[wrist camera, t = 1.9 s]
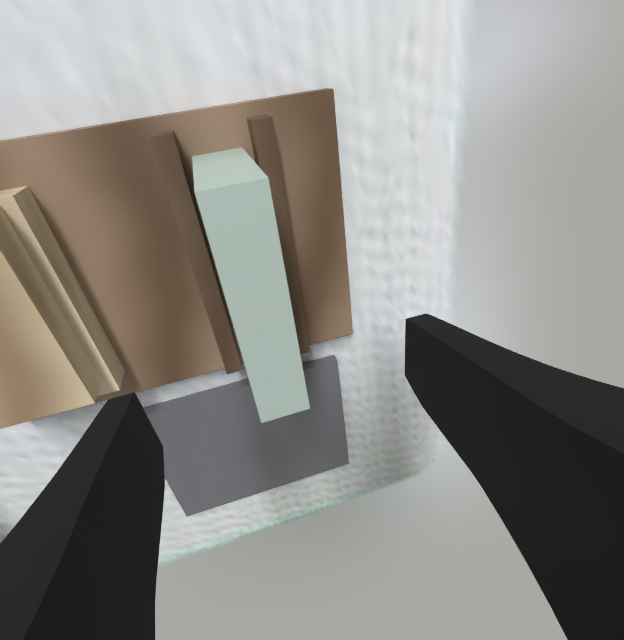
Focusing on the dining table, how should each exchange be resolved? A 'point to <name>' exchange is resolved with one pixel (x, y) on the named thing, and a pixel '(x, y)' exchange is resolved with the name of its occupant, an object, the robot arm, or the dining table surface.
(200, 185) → the sage panel
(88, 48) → the dining table surface
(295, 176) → the walnut rack
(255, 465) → the charcoal mat
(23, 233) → the lower pine offcut
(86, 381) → the upper pine offcut
